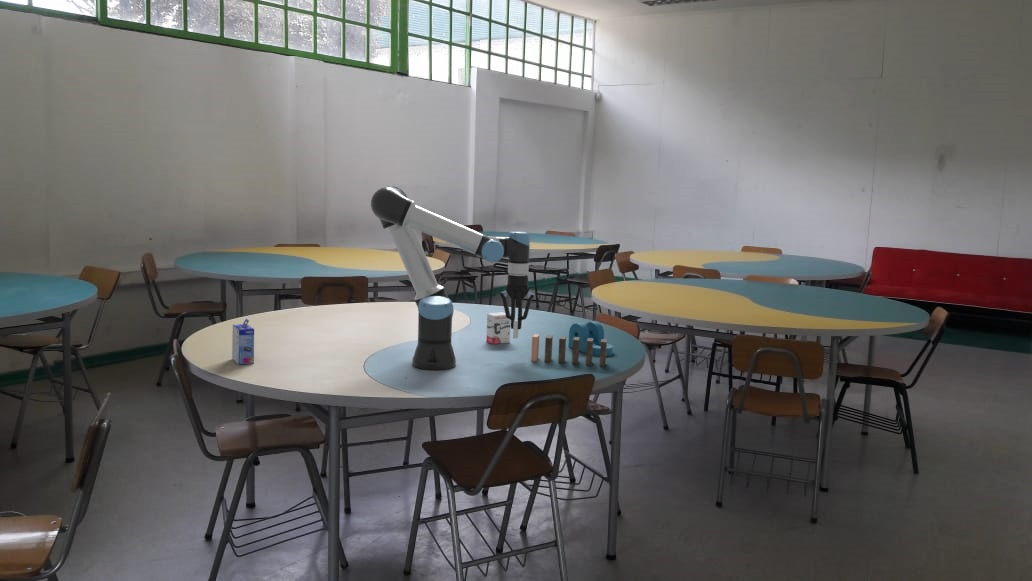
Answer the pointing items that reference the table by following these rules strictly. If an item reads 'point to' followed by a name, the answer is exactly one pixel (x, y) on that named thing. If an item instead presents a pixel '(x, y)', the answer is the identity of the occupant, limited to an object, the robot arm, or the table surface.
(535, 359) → the tile
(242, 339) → the ink cartridge box
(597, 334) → the camera mount
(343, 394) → the table surface
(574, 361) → the tile
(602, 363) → the tile
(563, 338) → the tile
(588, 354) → the tile
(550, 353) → the tile
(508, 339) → the ink box
